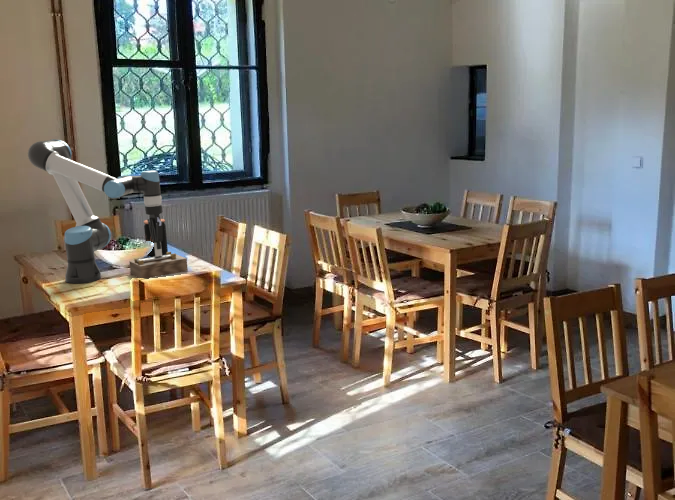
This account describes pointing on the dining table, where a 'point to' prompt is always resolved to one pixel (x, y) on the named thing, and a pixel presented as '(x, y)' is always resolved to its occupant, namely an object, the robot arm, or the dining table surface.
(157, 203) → the robot arm
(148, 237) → the coffee jar
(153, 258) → the strap
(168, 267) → the walnut box
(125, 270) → the dining table surface
